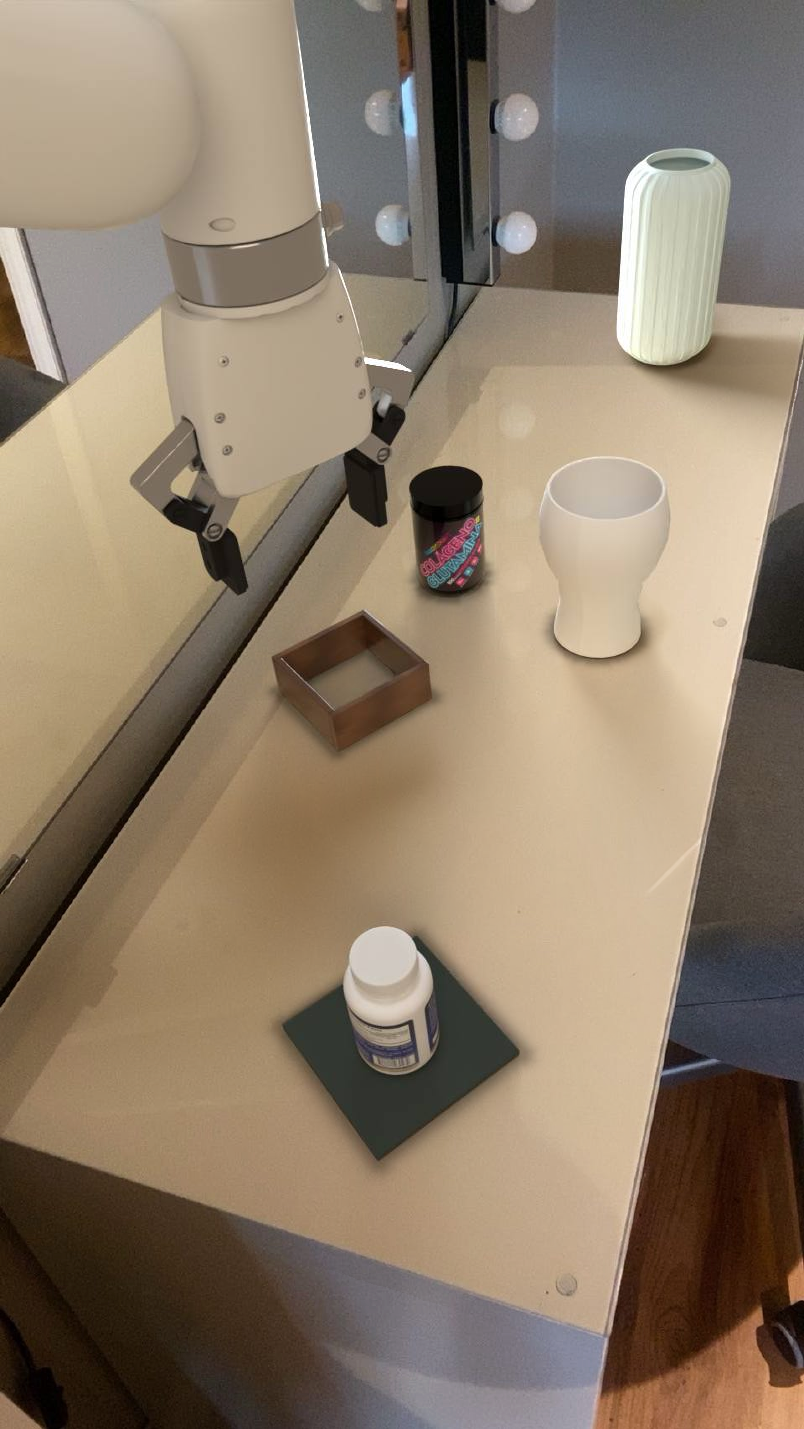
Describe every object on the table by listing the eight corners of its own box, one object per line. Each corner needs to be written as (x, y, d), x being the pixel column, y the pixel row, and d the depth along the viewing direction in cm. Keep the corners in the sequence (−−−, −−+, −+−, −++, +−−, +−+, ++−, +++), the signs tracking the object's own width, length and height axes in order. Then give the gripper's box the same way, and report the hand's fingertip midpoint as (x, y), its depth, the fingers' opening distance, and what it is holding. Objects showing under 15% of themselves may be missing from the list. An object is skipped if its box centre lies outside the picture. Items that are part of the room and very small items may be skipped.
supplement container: (405, 590, 101) (395, 497, 94) (435, 551, 105) (428, 459, 98) (468, 606, 99) (464, 512, 91) (497, 565, 103) (495, 472, 95)
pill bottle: (398, 985, 70) (384, 899, 63) (457, 1035, 67) (449, 951, 60) (338, 1039, 68) (317, 956, 61) (396, 1094, 65) (381, 1013, 58)
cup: (681, 625, 94) (700, 481, 84) (607, 687, 89) (618, 541, 79) (587, 579, 100) (594, 438, 89) (513, 634, 95) (512, 493, 85)
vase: (718, 336, 133) (743, 145, 117) (697, 378, 126) (721, 180, 110) (629, 326, 137) (642, 140, 121) (604, 366, 130) (614, 174, 114)
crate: (338, 751, 87) (332, 717, 84) (278, 690, 92) (270, 656, 90) (432, 698, 90) (429, 663, 87) (368, 642, 96) (364, 608, 93)
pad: (377, 1161, 62) (376, 1157, 62) (282, 1028, 69) (281, 1024, 69) (519, 1054, 66) (519, 1050, 66) (417, 938, 73) (416, 934, 73)
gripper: (353, 188, 56) (384, 470, 68) (50, 289, 49) (143, 580, 61) (439, 223, 51) (456, 519, 63) (116, 339, 45) (203, 643, 57)
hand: (301, 549), depth 62 cm, fingers open, 9 cm apart
